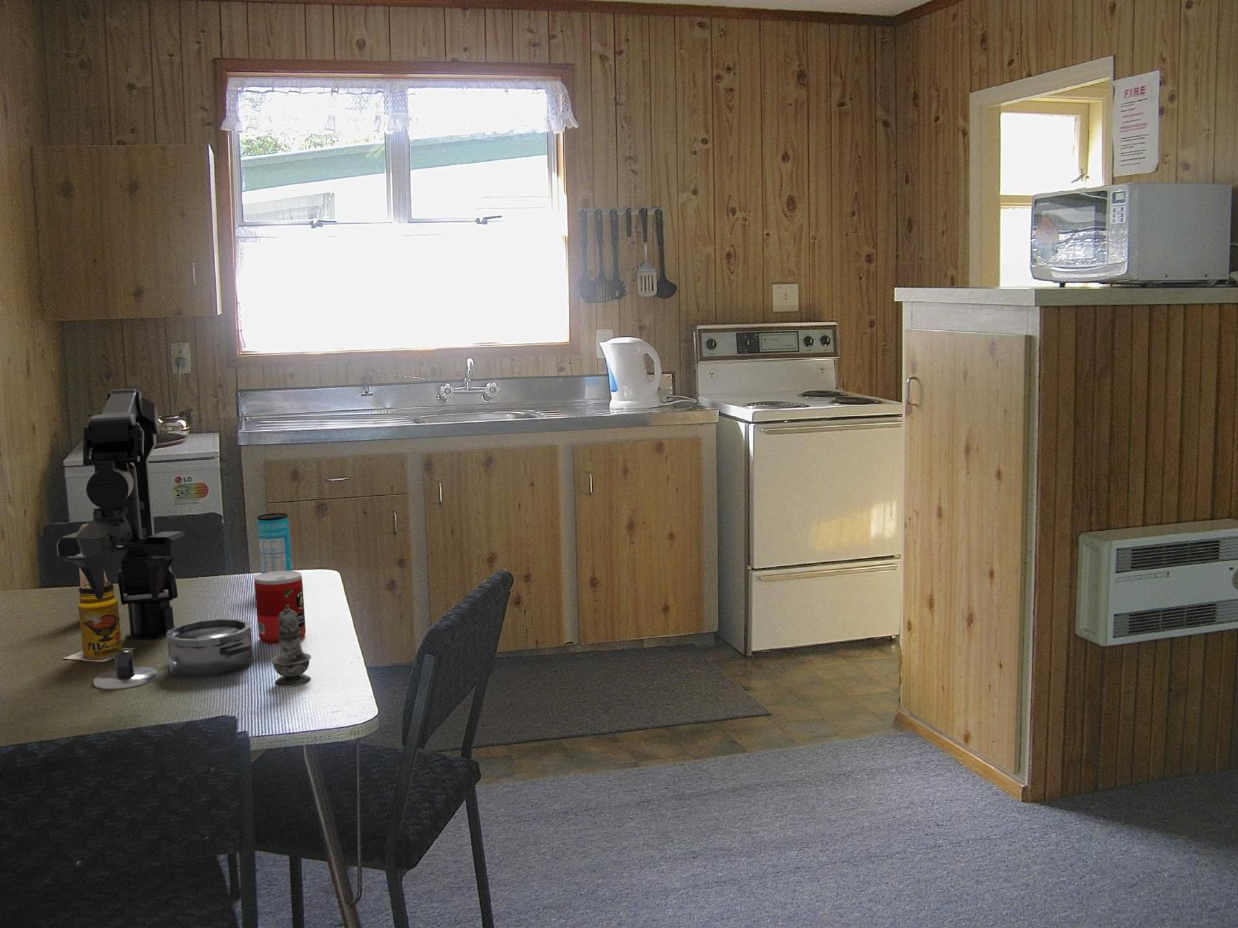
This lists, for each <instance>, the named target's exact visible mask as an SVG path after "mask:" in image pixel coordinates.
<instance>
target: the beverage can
mask: <svg viewBox="0 0 1238 928" xmlns="http://www.w3.org/2000/svg"><path fill="white" fill-rule="evenodd" d="M256 519H257V532H258V533H257V535H258V549H259V560H260V561H259V562H260V572H261V573H260V574H263V573H267V572H273V571H293V568H292V567H293V566H292V565H293V564H292V553H291V551H292V550H291V539H290V538H291V537H290V525H289V515H288V513H285V512H283V513H282V512H273V513H265V514H260V515H258V516H256Z"/></svg>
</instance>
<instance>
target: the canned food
mask: <svg viewBox="0 0 1238 928" xmlns="http://www.w3.org/2000/svg"><path fill="white" fill-rule="evenodd" d="M254 595H255V608H256V620H257V631H258V638H259V640H260V642H262V643H264V644H268V645H280V642H279V637H277V634H278V633H279V621H278V616H279V614H280V613H281V612H282V611H284V610H285V609H286V608H285V607H286V605H287V604H288V605H289V606H290V607H289V609H291V610H294V611H295V612H296V613H297V614H298V625H299V631H300V632H302V634H301V635H300V641H301V640H303V639H304V637H305V636H306V632H307V631H306V617H305V602H304V601H305V599H304V585H303V576H302V572H299V571H295V570H292V571H273V572H267V573H263V574H261V573H260V574H257V575H256V576H254Z"/></svg>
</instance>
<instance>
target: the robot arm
mask: <svg viewBox="0 0 1238 928" xmlns="http://www.w3.org/2000/svg"><path fill="white" fill-rule="evenodd" d="M106 396H107V397H106V398H107V402H106V403H105V404H104V405H103V407H102V413H101V414H95V415H92V416H91V417H90V418H89V419H88V421H87V425H84V426H83V441H82V442H83V445H82V449H83V450H82V456H83V457H82V460H83V461H82V465H83V466H84V467H86V466H94V474H93V475H91V477H90V478H89V479H88V481H87V483H86V489H85V490H86V495H87V498H88V499H89V502H91V503H92V504H93V505H94V506H96V508H93V513H92V514H93V515H92V518H93V519H92V522H90V523H87V524H88V525H87V526H86V527H85V528H84V529H83V530H82V531H81V532H79V531H77V532H74V533H71V534H68V535H65V536H61V537H60V538H59V540H58V541H57V544H56V552H57V556H58V557H65V560H66V561H67V562H68V563H69V562H71V563H72V564H74V565H76V566H77V567H78V568H79V567H80V569H81V570H82V572H83V573H84V575H85V576H86V578H87V580H88V582H89V584H90V586H91V588H92V590H93V592H94V594H95V596H96V598H97V599H102V598H103V594H104V571H105V557H107V556H110V555H112V554H113V553H114V552H115V551H125V554H124V555H123V558H122V560H121V562H120V569H119V570H118V571H117V582H118V590H119V596H120V597H119V598H120V601H121V602H120V603H121V605H122V606H124V605H127V608H128V610H127V611H128V622H129V631H130V632H129V633H127V634H125V635H124V638H125V639H142V640H143V639H144V640H147V639H148V640H149V639H150V640H156V639H157V640H158V639H161V638H162V637H164V636H165V637H166V636H167V631H168V630H170V629H172V628H174V627H177V626H178V625H177V626H175V622H174V621H175V620H174V611H173V607H172V606H171V602H170V601H174V599H177V598H178V597H179V596H178V595H179V594H178V585H177V584H178V583H177V580H176V574H175V572H173V571H172V568H171V566H172V563H173V560H175V557H178V556H180V555H182V554H181V552H183V551H185V550H188V549H189V544H188V543H189V542H188V537H187V536H186V535H185V533H184V532H183V531H160V532H157V533H155V525H154V522H155V521H154V512H153V511H154V510H153V503H152V502H153V499H152V498H153V497H152V489H151V487H152V486H151V477H150V476H151V475H150V464H149V458H150V456H151V454H152V452H153V450H154V448H155V447H156V445H157V435H159V434H160V421H159V415H158V410H157V407H156V404H155V403H153V402H152V401H150V400H148V399H146V398H145V397H143V395H142V391H141V390H140V389H139V390H137V389H136V388H130V389H129V388H128V389H113V390H111V391H107V395H106Z"/></svg>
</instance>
